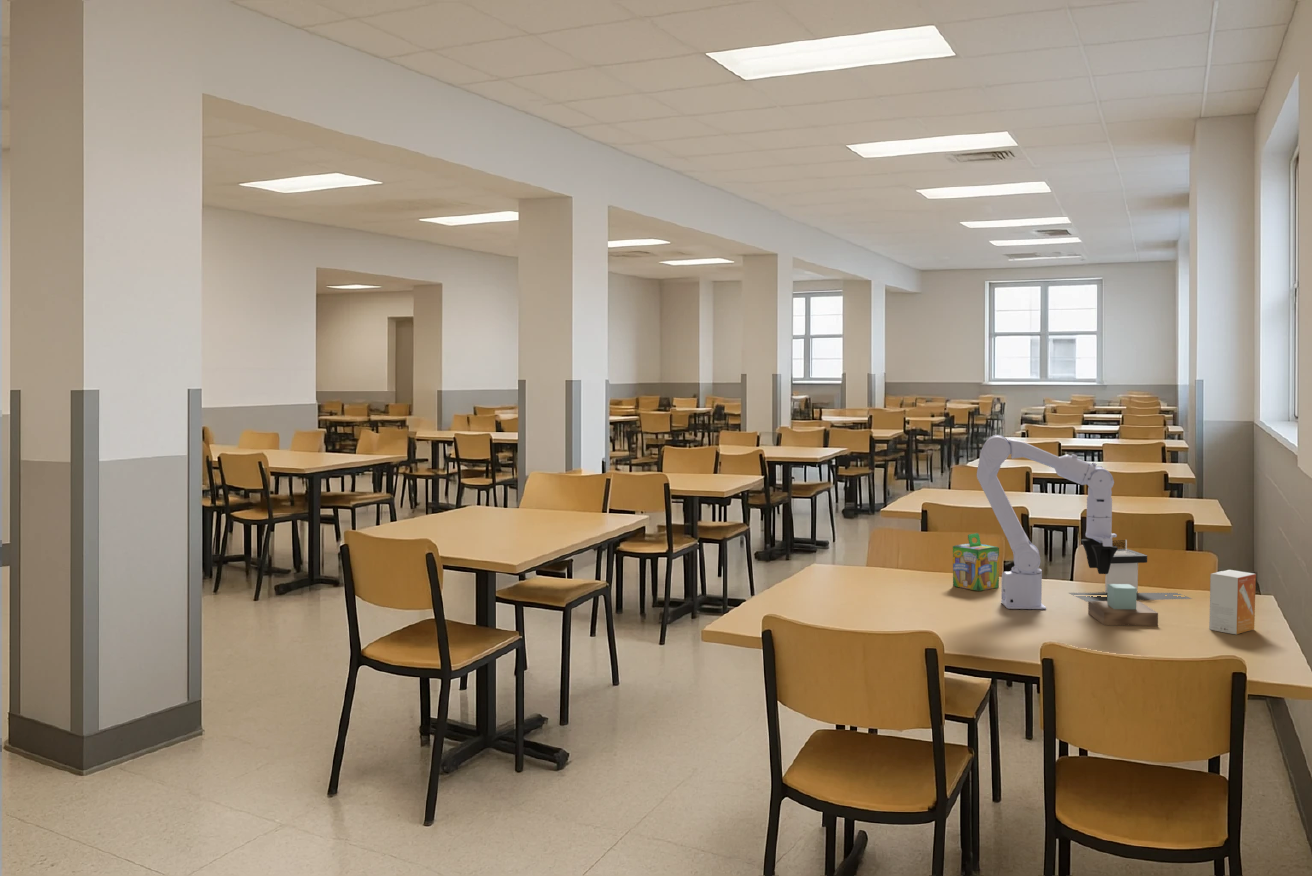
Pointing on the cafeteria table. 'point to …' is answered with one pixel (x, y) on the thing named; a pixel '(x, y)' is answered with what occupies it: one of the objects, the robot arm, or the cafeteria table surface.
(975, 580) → the chalk box
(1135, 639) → the cafeteria table surface
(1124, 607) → the teal cube
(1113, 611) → the walnut base
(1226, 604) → the small box
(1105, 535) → the robot arm
